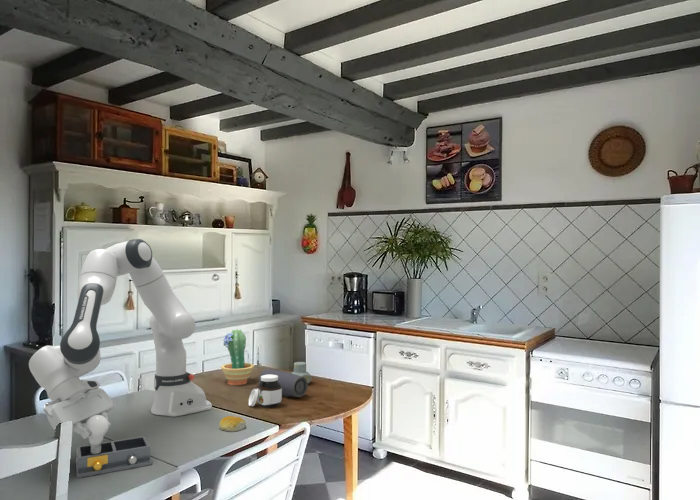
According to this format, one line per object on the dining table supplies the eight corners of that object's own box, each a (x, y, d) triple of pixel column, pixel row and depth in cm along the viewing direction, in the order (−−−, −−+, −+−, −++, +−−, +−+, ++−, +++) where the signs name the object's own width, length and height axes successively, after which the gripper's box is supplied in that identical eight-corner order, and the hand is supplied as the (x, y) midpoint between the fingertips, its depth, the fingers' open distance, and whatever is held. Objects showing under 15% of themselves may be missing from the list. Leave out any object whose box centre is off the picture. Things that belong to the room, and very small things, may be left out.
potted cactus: (223, 379, 247) (223, 327, 248) (255, 378, 249) (255, 327, 249) (218, 387, 232) (219, 332, 232) (252, 386, 234) (253, 332, 234)
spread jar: (284, 405, 204) (284, 376, 204) (261, 412, 196) (262, 381, 196) (266, 400, 212) (266, 372, 212) (243, 405, 204) (243, 376, 204)
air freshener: (303, 380, 246) (303, 360, 246) (314, 384, 240) (314, 362, 240) (285, 384, 239) (285, 363, 239) (295, 387, 232) (295, 366, 233)
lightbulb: (98, 459, 141) (98, 419, 141) (77, 457, 142) (78, 417, 142) (113, 451, 147) (113, 412, 147) (93, 449, 148) (94, 411, 148)
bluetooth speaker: (308, 397, 217) (309, 373, 217) (292, 401, 210) (293, 377, 210) (273, 388, 232) (273, 366, 232) (257, 392, 225) (257, 369, 225)
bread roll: (230, 422, 183) (230, 411, 183) (249, 427, 178) (249, 416, 179) (213, 429, 176) (213, 417, 176) (231, 434, 171) (232, 422, 172)
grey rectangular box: (145, 450, 156) (145, 435, 156) (151, 464, 145) (152, 449, 145) (75, 462, 146) (76, 446, 146) (77, 478, 136) (77, 461, 136)
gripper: (47, 397, 136) (77, 437, 134) (101, 379, 156) (128, 414, 154) (33, 412, 137) (63, 452, 135) (88, 393, 157) (115, 427, 155)
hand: (98, 432), depth 144 cm, fingers closed on lightbulb, 6 cm apart
